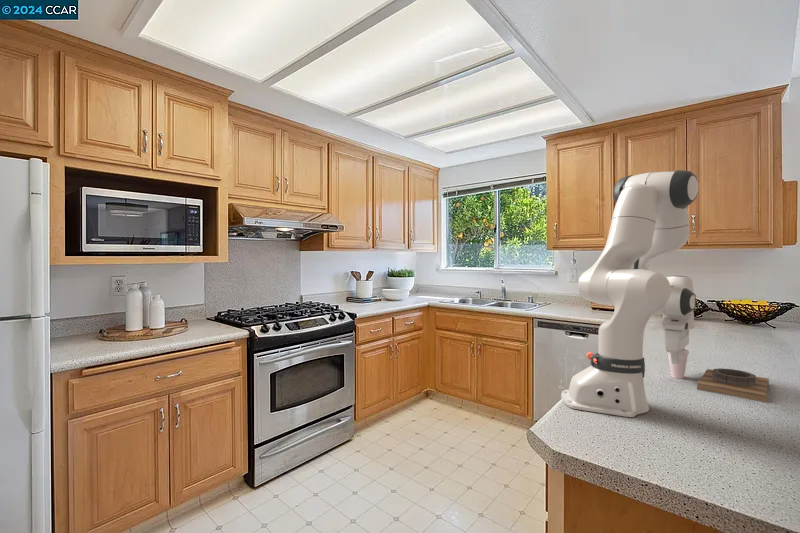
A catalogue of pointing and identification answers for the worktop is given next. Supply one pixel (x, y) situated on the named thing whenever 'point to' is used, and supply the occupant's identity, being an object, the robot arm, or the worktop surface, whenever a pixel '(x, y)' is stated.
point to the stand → (734, 384)
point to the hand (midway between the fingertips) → (677, 361)
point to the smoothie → (679, 364)
